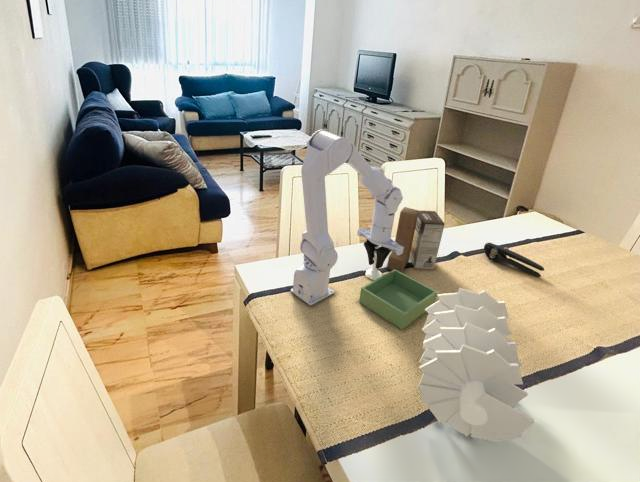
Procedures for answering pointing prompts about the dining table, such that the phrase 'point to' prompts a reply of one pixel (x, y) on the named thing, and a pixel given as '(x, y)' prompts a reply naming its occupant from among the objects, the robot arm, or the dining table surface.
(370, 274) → the chess piece
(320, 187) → the robot arm
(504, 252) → the can opener
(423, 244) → the coffee box
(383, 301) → the basket
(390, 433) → the dining table surface
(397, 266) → the wooden block
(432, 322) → the spiral staircase
